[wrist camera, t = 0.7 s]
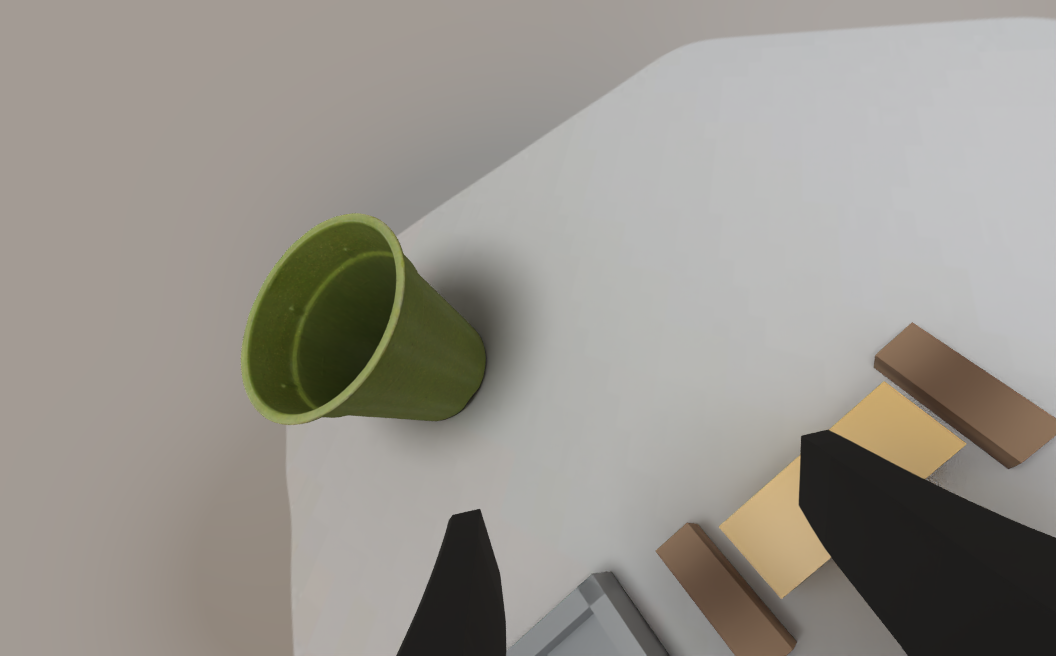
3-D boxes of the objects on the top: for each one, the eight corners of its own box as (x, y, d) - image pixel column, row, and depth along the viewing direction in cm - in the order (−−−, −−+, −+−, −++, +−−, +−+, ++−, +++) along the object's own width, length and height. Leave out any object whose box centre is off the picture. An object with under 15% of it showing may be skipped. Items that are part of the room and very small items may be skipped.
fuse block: (941, 465, 22) (967, 443, 18) (795, 587, 24) (781, 599, 19) (877, 413, 24) (884, 381, 19) (743, 529, 25) (718, 526, 20)
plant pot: (547, 390, 33) (431, 332, 24) (406, 488, 36) (253, 470, 26) (481, 258, 39) (368, 172, 30) (365, 350, 42) (230, 297, 33)
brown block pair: (1050, 435, 21) (1067, 426, 19) (761, 671, 23) (754, 681, 21) (908, 336, 24) (912, 322, 23) (667, 550, 27) (655, 550, 25)
